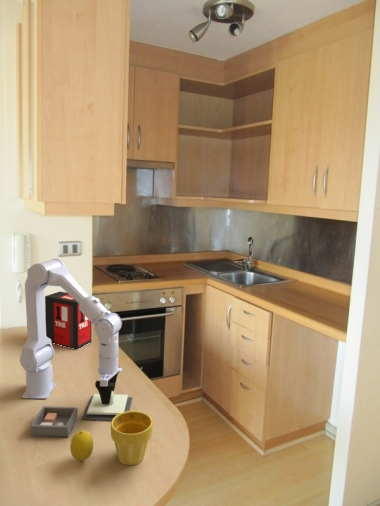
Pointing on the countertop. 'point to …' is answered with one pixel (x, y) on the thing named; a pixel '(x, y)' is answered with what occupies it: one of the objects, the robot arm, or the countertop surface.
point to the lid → (108, 405)
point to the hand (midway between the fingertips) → (108, 397)
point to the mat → (103, 417)
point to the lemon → (81, 445)
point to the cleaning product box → (66, 321)
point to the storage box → (54, 422)
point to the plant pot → (131, 435)
